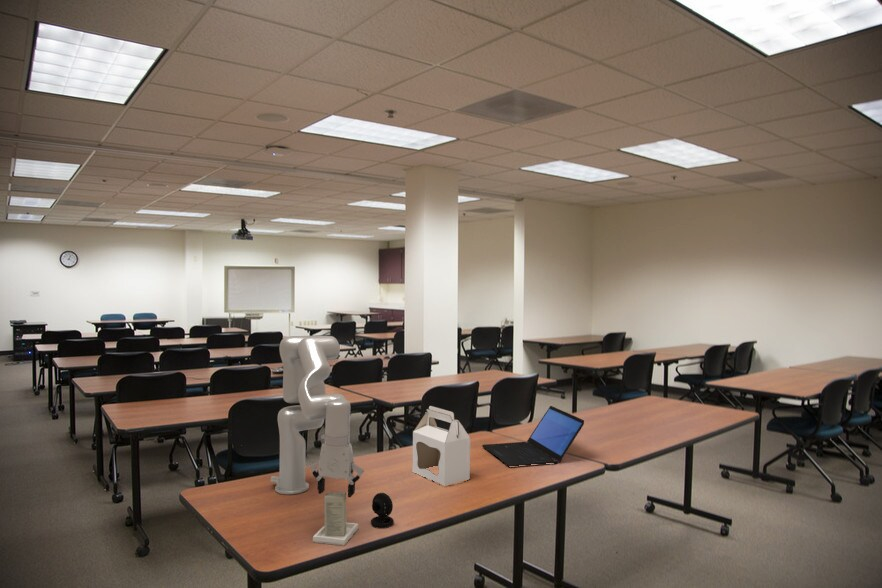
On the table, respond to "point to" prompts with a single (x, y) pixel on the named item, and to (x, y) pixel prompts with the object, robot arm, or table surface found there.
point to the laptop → (541, 441)
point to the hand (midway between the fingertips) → (335, 494)
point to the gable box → (441, 448)
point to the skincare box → (335, 513)
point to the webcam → (382, 510)
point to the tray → (335, 540)
